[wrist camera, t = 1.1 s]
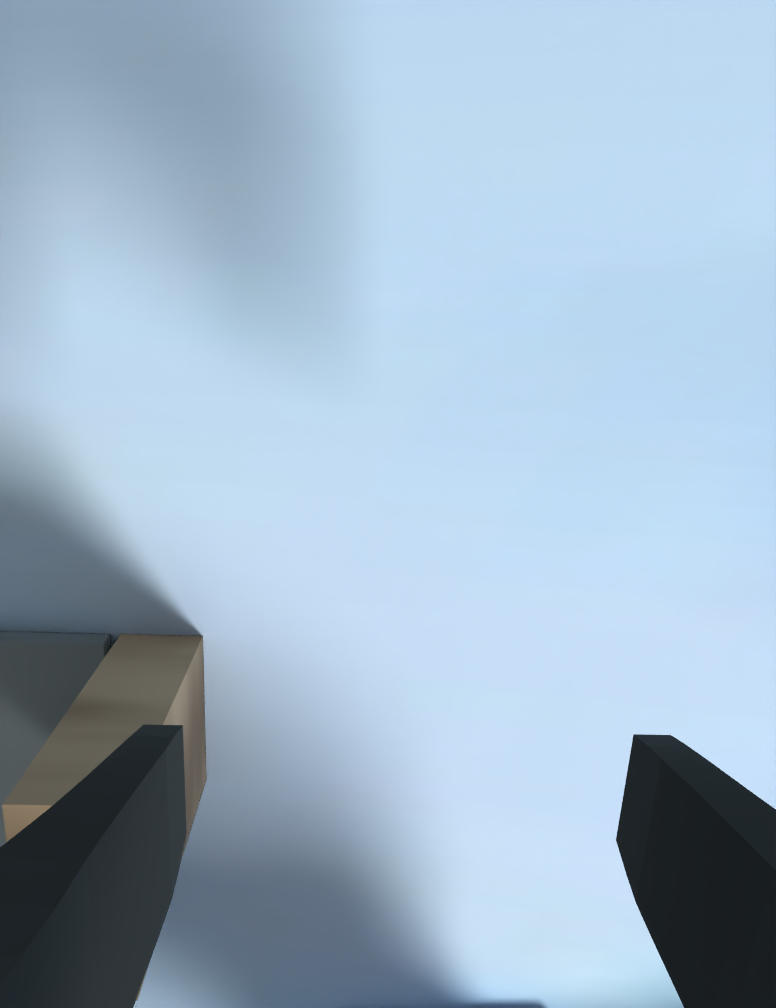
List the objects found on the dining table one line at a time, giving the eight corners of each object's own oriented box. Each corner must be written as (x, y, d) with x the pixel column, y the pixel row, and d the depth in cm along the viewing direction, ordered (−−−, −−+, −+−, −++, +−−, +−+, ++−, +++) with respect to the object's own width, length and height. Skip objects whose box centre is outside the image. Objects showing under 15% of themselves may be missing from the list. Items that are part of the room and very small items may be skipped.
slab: (206, 780, 23) (137, 1000, 16) (126, 778, 23) (19, 1000, 16) (202, 636, 22) (126, 806, 15) (117, 633, 22) (-3, 804, 14)
